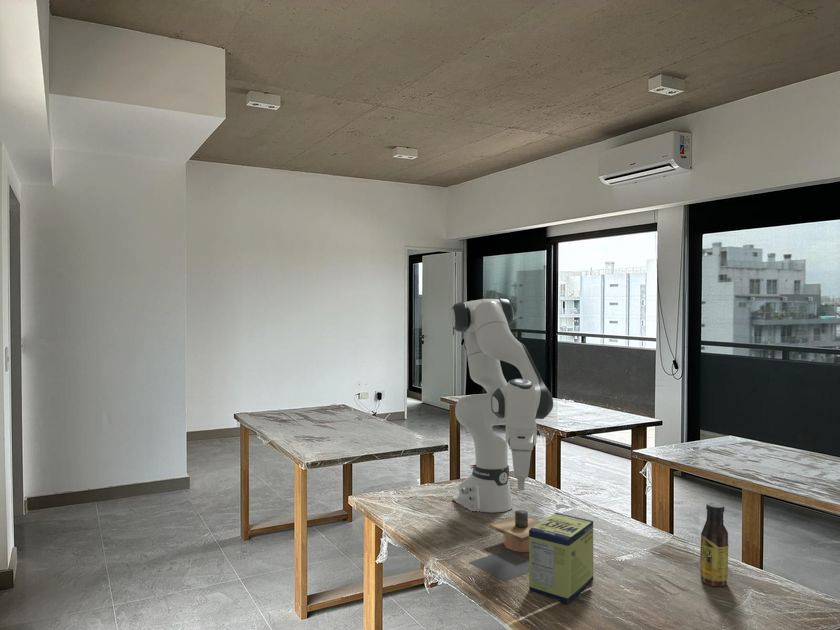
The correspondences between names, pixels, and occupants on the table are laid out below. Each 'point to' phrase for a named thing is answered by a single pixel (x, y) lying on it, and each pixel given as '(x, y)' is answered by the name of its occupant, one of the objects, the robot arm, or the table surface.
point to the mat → (503, 565)
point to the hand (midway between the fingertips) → (520, 484)
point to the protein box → (561, 557)
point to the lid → (516, 526)
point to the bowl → (515, 544)
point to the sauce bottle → (714, 547)
